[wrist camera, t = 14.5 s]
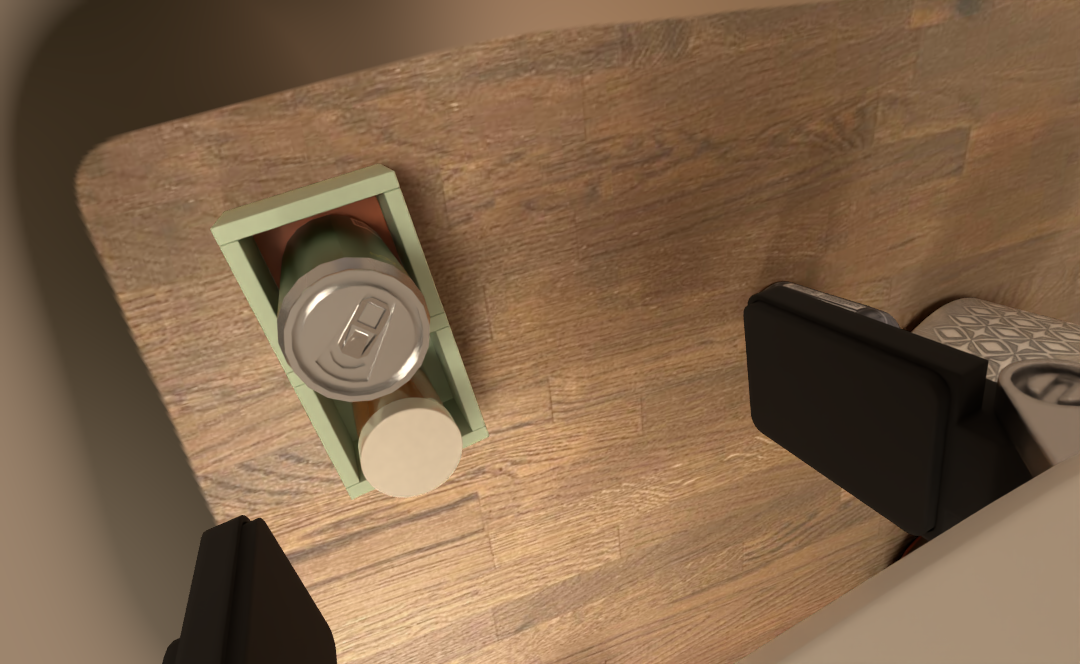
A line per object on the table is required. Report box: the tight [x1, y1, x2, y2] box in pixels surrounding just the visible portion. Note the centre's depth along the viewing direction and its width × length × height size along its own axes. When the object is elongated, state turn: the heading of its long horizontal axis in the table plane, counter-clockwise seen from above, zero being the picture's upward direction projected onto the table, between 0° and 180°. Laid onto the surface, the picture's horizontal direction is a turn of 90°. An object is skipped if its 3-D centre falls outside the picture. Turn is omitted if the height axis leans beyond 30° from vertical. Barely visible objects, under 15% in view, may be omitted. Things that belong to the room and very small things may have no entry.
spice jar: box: [351, 364, 463, 498], centre depth 30 cm, size 5×5×9 cm
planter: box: [911, 298, 1080, 382], centre depth 50 cm, size 16×16×13 cm
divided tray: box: [211, 164, 489, 499], centre depth 30 cm, size 15×8×5 cm, turn 16°
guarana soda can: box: [277, 215, 430, 402], centre depth 25 cm, size 5×5×12 cm
